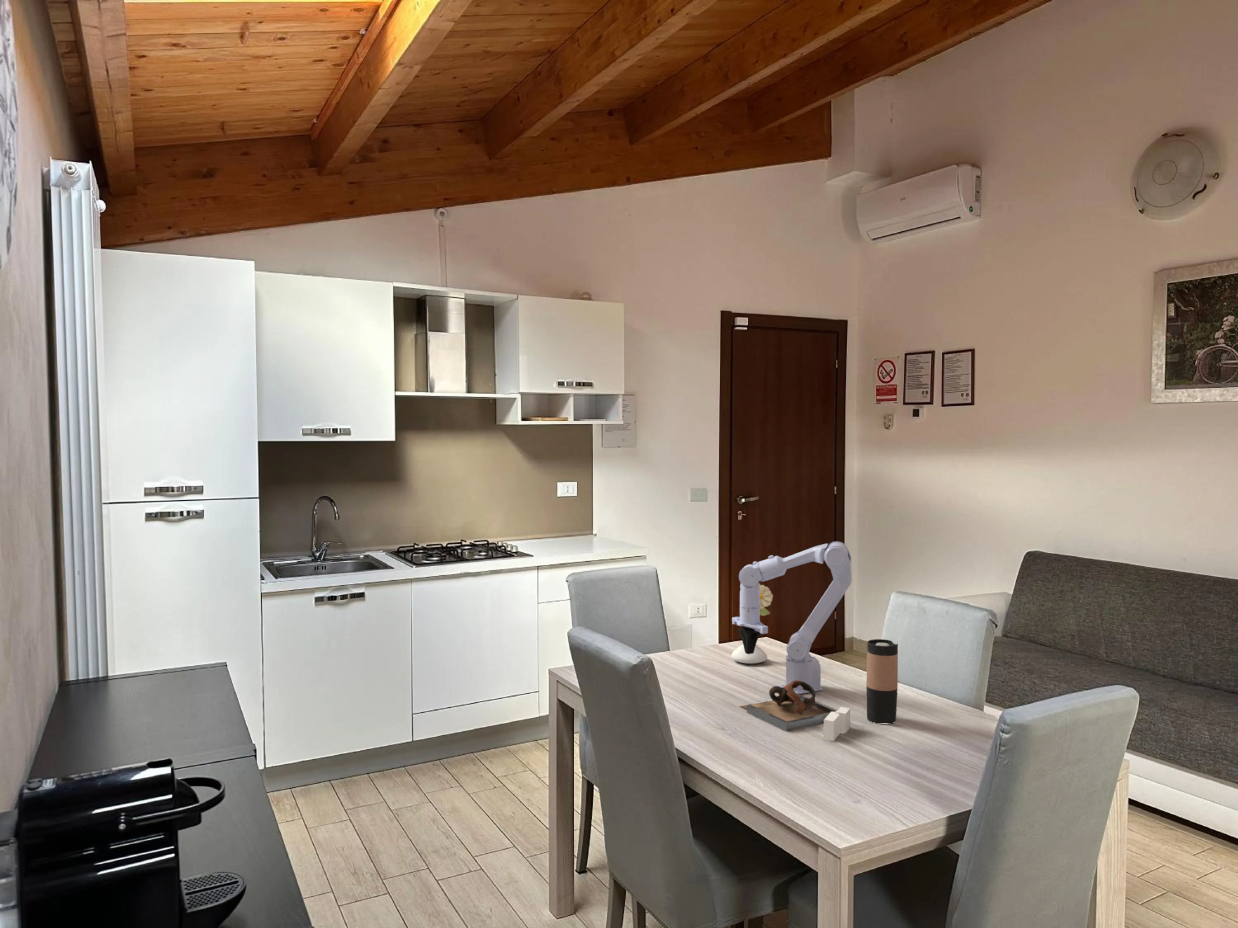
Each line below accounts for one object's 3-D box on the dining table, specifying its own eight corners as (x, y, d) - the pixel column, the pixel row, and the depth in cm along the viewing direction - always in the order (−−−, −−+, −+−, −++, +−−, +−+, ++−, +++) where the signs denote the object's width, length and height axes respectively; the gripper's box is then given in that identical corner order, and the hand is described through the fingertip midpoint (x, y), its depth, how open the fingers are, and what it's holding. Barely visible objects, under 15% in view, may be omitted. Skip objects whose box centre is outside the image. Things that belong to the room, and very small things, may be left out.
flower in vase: (728, 664, 278) (728, 585, 276) (734, 655, 288) (734, 579, 287) (770, 668, 274) (770, 588, 273) (774, 658, 285) (775, 581, 283)
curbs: (800, 701, 241) (800, 694, 241) (841, 719, 226) (841, 711, 226) (746, 712, 232) (746, 704, 232) (786, 731, 218) (786, 723, 218)
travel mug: (862, 721, 225) (864, 644, 224) (869, 712, 232) (870, 637, 231) (893, 726, 221) (895, 647, 220) (899, 717, 228) (900, 640, 227)
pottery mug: (802, 702, 239) (814, 680, 235) (809, 728, 231) (822, 706, 227) (761, 693, 237) (772, 670, 233) (766, 719, 229) (778, 696, 225)
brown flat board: (785, 700, 245) (785, 694, 245) (835, 721, 227) (835, 715, 227) (738, 709, 237) (738, 703, 237) (786, 732, 219) (786, 725, 219)
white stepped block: (828, 747, 209) (828, 723, 208) (800, 731, 219) (800, 709, 219) (879, 738, 214) (879, 715, 214) (849, 723, 225) (850, 701, 225)
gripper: (723, 603, 259) (723, 649, 260) (753, 612, 247) (753, 660, 247) (743, 601, 263) (742, 646, 263) (774, 610, 250) (773, 657, 251)
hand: (749, 653), depth 255 cm, fingers closed
